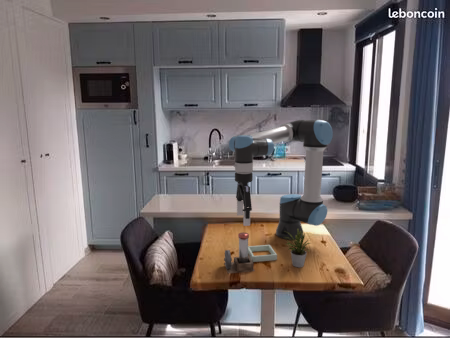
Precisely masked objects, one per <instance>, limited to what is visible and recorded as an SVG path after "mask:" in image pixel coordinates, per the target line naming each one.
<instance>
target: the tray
mask: <svg viewBox="0 0 450 338" xmlns="http://www.w3.org/2000/svg"><path fill="white" fill-rule="evenodd" d="M264 251H266V252H267V251H268V252H269V253H270V254H263V255H262V254H261V255H254V253H253V252H264ZM248 256H250V258H251V260H252V261H253V263H258V262H266V261H267V262H268V261H269V262H270V261H277V260H278V254H277V253H276V251H275V250H274V248H273V247H272V245H271V244H265V245H264V244H261V245H260V244H259V245H248Z"/></svg>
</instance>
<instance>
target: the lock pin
mask: <svg viewBox="0 0 450 338" xmlns="http://www.w3.org/2000/svg"><path fill="white" fill-rule="evenodd" d="M237 236H238V237H237V238H238V257H239V263H248V256H249V254H248V246H249V237H250V234H249V233H248V232H239V233H238V235H237Z"/></svg>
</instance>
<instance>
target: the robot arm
mask: <svg viewBox="0 0 450 338" xmlns="http://www.w3.org/2000/svg"><path fill="white" fill-rule="evenodd" d="M333 134H334V133H333V128H332V126H331V124H330V123H329V122H328V121H326V120H321V119H298V120H293V121H289V122H286V123H283V124H281V125H280V126H278V127H274V128H270V129H266V130H263V131H258V132H255V133H250V134H247V135H242V134H241V135H237V136H233V137H230V139H229V142H228V148H229V150H230V151H232V152H233V153H234V164H233V167H234V172H235V173H234V181H235V182H236V183H237V186H236V194H235V198H236V216H243V223H242V224H243V226H244V227H247V226H248V227H249V226H251V212H252V211H253V206H252V199H251V186H249V183H252V182H253V179H254V178H253V171H254V170H253V169H254V158H257V157H266V156H270V155H271V154H273V153H274V150H275V144H278V143H281V142H284V143H288V142H298V143H299V142H300V143H303V144H302V145H303V148H304V149H305V160H304V161H305V164H304V165H305V166H304V182H303V195H300V194H297V193H296V194H295V193H294V194H292V193H291V194H283V195H282V196H281V197H280V198H279V221H278V223H277V226H276V229H275V230H276V231H275V235H276V236H277V237H278V238H280V239H284V240H287V241H289V240H290V241H291V240H292V241H295V240H296V238H295V236H296V235H297V229H299V233H300V231H301V233H302V232H303V233H304V230H303V227H302V223H305V224H308V225H310V226H316V227H317V226H320V225H321V224H322V223H324V221H326V220H325V219H326V218H327V215H328V208H327V206H326V205H325V204H324V198H323V197H322V196H321V194H322V193H321V191H322V180H323V179H322V178H323V177H322V175H323V163H324V162H323V161H324V151H325V150H326V149H327V147H328V145H330V144H331V142H332V139H333ZM285 231H286V232H285ZM287 232H288V233H290V234H291V235H292V236H293V238H294V240H293V239H292V237H291V236H290V234H288V233H287ZM284 237H288V238H284ZM301 237H302V234H301ZM301 237H300V239H301Z"/></svg>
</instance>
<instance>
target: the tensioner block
mask: <svg viewBox="0 0 450 338" xmlns="http://www.w3.org/2000/svg"><path fill="white" fill-rule="evenodd" d="M223 258H224V259H223V264H224V266H225V269H226V272H227V274H237V273H249V272H250V273H252V272H256V270H255V269H254V265H255V264H254V263H255V262H253V261H252V260H251V258H250V256H249V255H248V263H239V256H237V257H236V256H234V257H233V259H232V254H231V250H230V249H225V250H224V257H223Z"/></svg>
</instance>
